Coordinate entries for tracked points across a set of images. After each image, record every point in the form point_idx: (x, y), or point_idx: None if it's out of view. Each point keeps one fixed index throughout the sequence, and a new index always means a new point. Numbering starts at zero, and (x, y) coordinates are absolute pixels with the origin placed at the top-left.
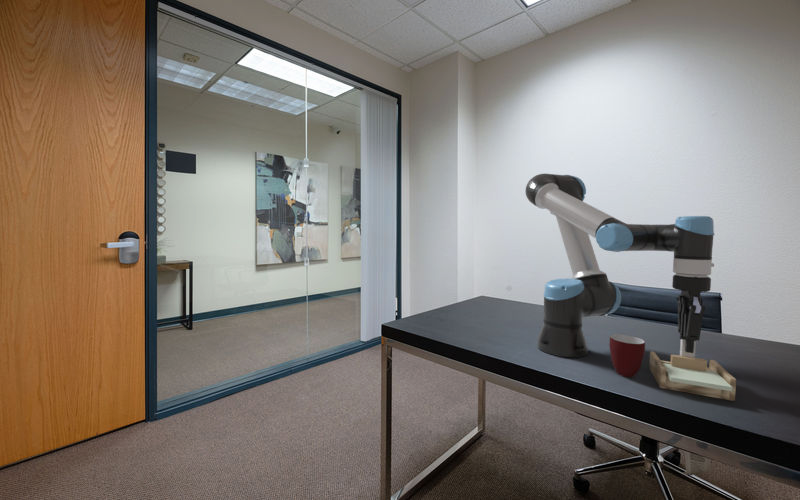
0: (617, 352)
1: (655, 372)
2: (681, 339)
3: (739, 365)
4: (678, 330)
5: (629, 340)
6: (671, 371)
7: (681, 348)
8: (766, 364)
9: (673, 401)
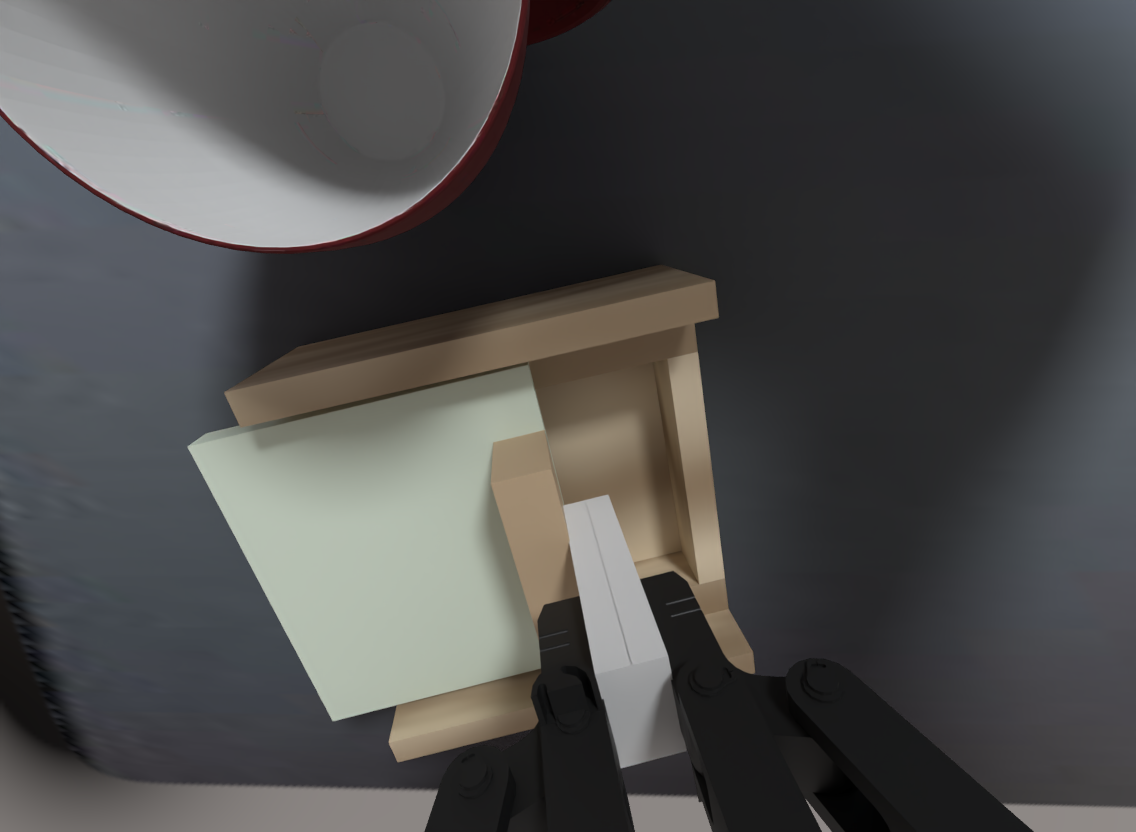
0: None
1: (450, 319)
2: (629, 651)
3: (1021, 667)
4: (815, 682)
5: (516, 10)
6: (347, 444)
7: (594, 581)
8: (1088, 743)
9: (113, 422)
